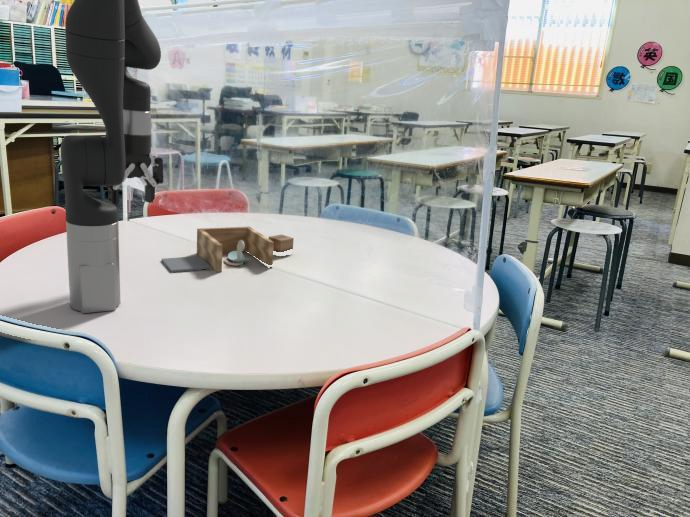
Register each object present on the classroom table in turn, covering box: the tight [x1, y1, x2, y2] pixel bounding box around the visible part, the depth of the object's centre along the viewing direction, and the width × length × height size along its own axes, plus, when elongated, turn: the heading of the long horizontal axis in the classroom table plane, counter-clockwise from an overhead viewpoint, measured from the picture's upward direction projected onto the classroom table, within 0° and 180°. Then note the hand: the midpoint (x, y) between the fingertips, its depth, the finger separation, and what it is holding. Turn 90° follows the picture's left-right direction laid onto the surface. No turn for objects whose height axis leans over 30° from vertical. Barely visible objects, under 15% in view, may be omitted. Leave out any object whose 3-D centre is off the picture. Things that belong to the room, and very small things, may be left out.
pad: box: [161, 255, 213, 274], centre depth 139 cm, size 10×10×1 cm
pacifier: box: [223, 240, 251, 267], centre depth 144 cm, size 7×6×6 cm
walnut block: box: [268, 234, 294, 252], centre depth 157 cm, size 5×5×5 cm
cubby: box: [196, 226, 274, 273], centre depth 146 cm, size 17×15×7 cm
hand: (132, 203), depth 123 cm, fingers open, 8 cm apart
